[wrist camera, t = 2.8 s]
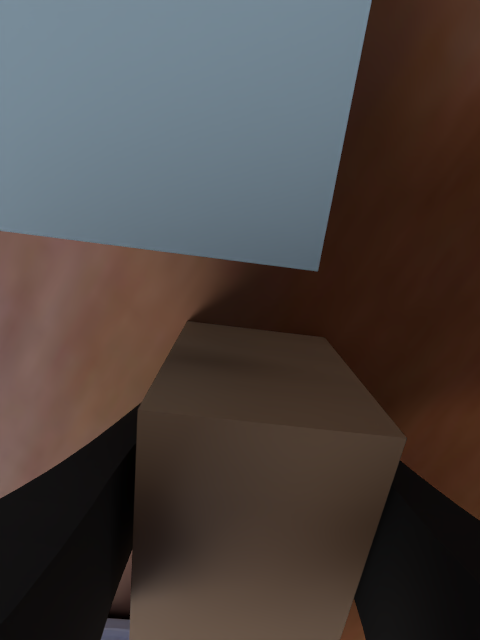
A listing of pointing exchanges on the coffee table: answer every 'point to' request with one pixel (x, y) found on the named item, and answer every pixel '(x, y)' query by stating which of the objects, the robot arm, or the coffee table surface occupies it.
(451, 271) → the coffee table surface
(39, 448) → the coffee table surface
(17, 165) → the slate-blue brick
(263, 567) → the walnut brick
